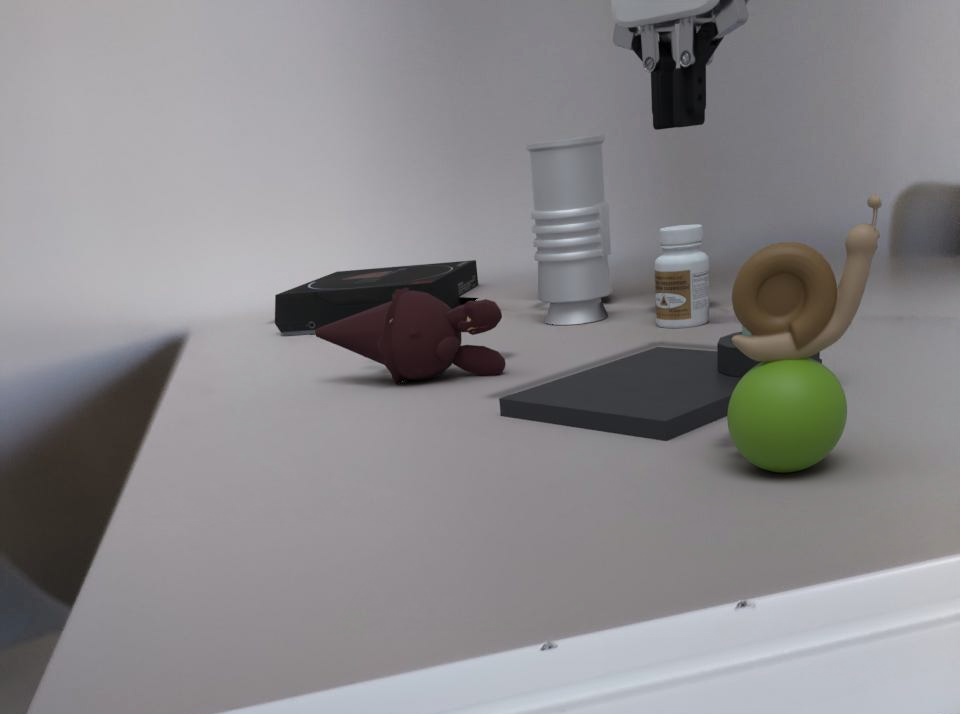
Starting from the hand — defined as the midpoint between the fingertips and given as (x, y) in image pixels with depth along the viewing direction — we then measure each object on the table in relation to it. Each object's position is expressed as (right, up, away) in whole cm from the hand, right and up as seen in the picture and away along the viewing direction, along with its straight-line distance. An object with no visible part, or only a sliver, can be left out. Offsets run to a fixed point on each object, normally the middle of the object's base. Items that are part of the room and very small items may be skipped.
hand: (679, 125), depth 81 cm
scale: (-4, -25, -15) cm, 29 cm away
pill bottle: (+2, -14, +7) cm, 15 cm away
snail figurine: (0, -32, -31) cm, 44 cm away
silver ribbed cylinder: (-7, -11, +15) cm, 19 cm away
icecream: (-20, -21, -2) cm, 29 cm away
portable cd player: (-26, -6, +29) cm, 39 cm away
